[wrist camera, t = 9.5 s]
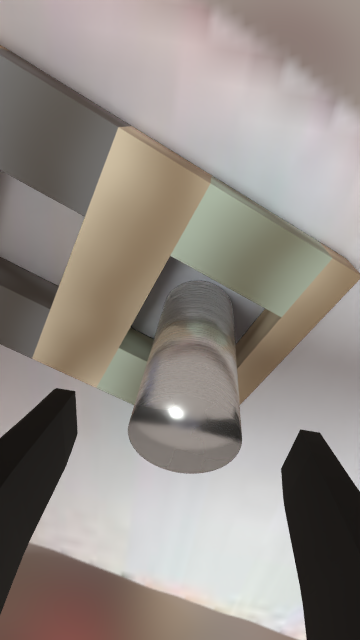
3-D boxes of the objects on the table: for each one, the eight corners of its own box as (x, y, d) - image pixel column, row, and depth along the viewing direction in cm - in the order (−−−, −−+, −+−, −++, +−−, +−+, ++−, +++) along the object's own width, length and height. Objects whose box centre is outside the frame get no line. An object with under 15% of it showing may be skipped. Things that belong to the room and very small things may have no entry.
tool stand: (-70, 281, 18) (-100, 298, 16) (-38, 21, 12) (-81, 5, 10) (208, 412, 21) (207, 438, 19) (345, 258, 15) (362, 276, 13)
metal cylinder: (155, 287, 17) (111, 403, 10) (226, 274, 16) (230, 390, 9) (173, 344, 18) (147, 476, 12) (238, 335, 18) (249, 469, 11)
